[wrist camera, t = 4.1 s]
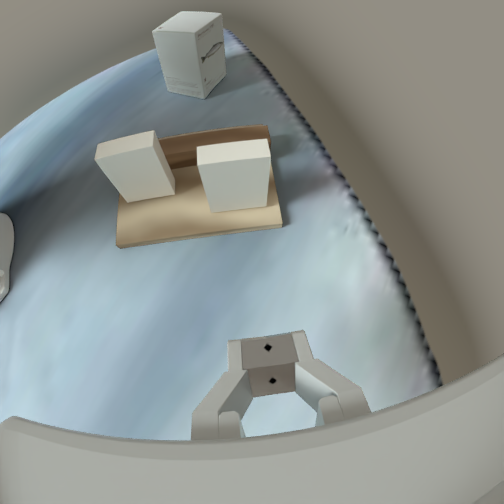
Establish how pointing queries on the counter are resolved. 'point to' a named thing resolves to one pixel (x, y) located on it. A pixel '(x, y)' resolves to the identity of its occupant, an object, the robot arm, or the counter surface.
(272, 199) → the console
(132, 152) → the block
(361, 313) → the counter surface
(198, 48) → the supplement box
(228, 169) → the white rectangular block
